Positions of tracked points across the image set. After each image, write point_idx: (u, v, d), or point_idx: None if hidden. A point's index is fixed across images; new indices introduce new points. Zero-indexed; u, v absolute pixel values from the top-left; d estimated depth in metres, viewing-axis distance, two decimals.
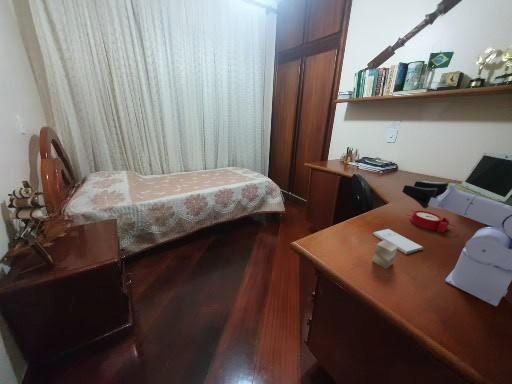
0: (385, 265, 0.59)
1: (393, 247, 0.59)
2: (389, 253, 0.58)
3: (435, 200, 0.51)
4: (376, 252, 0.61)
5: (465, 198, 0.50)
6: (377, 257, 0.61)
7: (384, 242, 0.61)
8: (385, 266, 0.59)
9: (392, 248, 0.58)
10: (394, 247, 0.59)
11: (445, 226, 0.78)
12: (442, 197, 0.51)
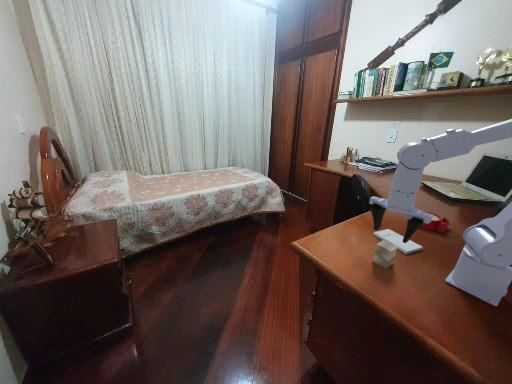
0: (385, 265, 0.59)
1: (393, 247, 0.59)
2: (389, 253, 0.58)
3: (429, 219, 0.50)
4: (376, 252, 0.61)
5: (407, 198, 0.52)
6: (377, 257, 0.61)
7: (384, 242, 0.61)
8: (385, 266, 0.59)
9: (392, 248, 0.58)
10: (394, 247, 0.59)
11: (445, 226, 0.78)
12: (418, 214, 0.51)
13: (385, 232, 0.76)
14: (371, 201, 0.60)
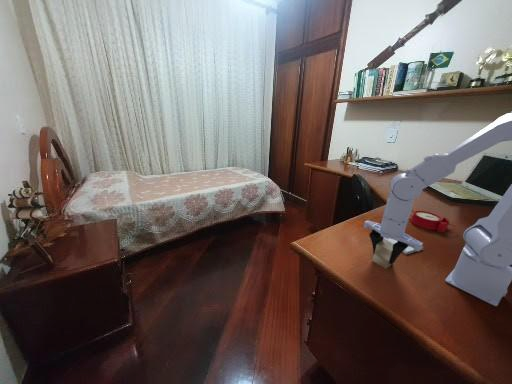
0: (385, 265, 0.59)
1: None
2: (389, 253, 0.58)
3: (419, 247, 0.52)
4: (376, 252, 0.61)
5: (399, 226, 0.54)
6: (377, 257, 0.61)
7: (384, 242, 0.61)
8: (385, 265, 0.59)
9: (392, 248, 0.58)
10: None
11: (445, 226, 0.78)
12: (409, 242, 0.53)
13: None
14: (365, 225, 0.63)
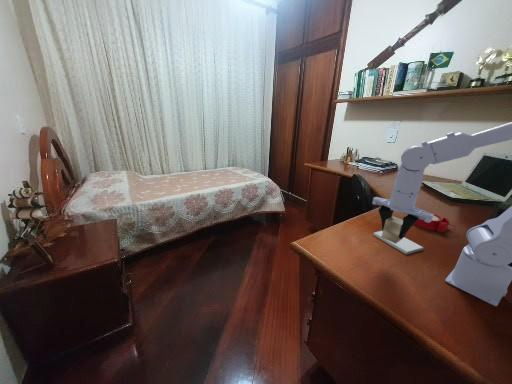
0: (395, 240, 0.59)
1: (402, 222, 0.59)
2: (399, 227, 0.57)
3: (430, 219, 0.52)
4: (385, 228, 0.60)
5: (409, 198, 0.54)
6: (386, 233, 0.60)
7: (393, 218, 0.61)
8: (394, 240, 0.59)
9: (401, 223, 0.58)
10: None
11: (445, 226, 0.78)
12: (420, 214, 0.53)
13: None
14: (374, 201, 0.63)
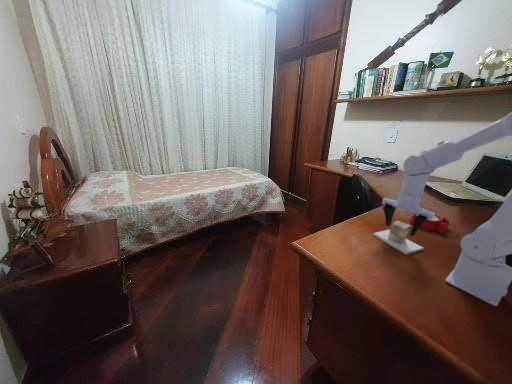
0: (399, 241, 0.69)
1: (406, 225, 0.69)
2: (403, 230, 0.68)
3: (432, 216, 0.62)
4: (391, 230, 0.71)
5: (414, 199, 0.64)
6: (392, 235, 0.71)
7: (398, 222, 0.71)
8: (399, 241, 0.69)
9: (405, 226, 0.68)
10: (407, 225, 0.69)
11: (445, 226, 0.78)
12: (423, 213, 0.63)
13: (385, 233, 0.76)
14: (383, 202, 0.73)
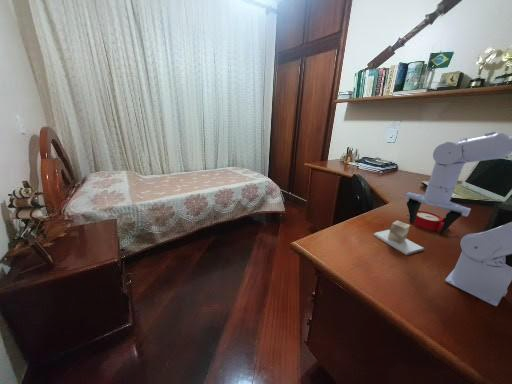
0: (399, 241, 0.70)
1: (406, 225, 0.69)
2: (403, 230, 0.68)
3: (467, 212, 0.54)
4: (391, 230, 0.71)
5: (446, 193, 0.56)
6: (392, 234, 0.71)
7: (398, 222, 0.72)
8: (399, 241, 0.70)
9: (405, 226, 0.69)
10: (407, 225, 0.69)
11: None
12: (457, 208, 0.55)
13: (385, 233, 0.76)
14: (407, 197, 0.65)
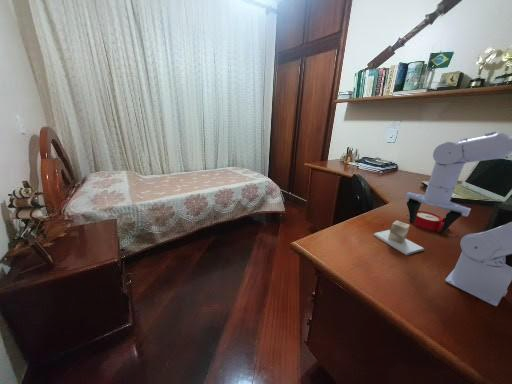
0: (400, 241, 0.70)
1: (406, 225, 0.69)
2: (404, 230, 0.68)
3: (467, 212, 0.54)
4: (392, 230, 0.71)
5: (446, 193, 0.56)
6: (393, 235, 0.71)
7: (398, 222, 0.72)
8: (400, 241, 0.70)
9: (405, 226, 0.69)
10: (407, 225, 0.69)
11: None
12: (457, 208, 0.55)
13: (386, 233, 0.76)
14: (407, 196, 0.65)
